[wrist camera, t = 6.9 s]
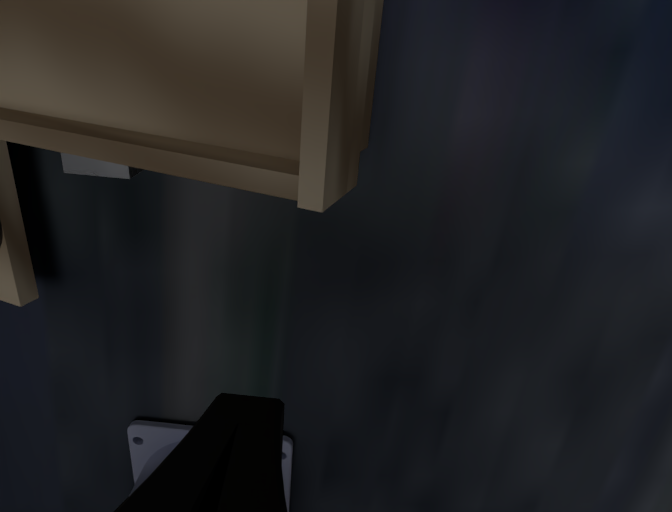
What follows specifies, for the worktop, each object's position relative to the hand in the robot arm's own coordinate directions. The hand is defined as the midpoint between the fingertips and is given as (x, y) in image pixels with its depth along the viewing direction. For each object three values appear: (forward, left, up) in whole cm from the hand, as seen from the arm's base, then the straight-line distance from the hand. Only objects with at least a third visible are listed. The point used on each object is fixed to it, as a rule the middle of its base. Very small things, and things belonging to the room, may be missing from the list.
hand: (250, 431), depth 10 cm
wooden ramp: (+4, +5, -10) cm, 12 cm away
